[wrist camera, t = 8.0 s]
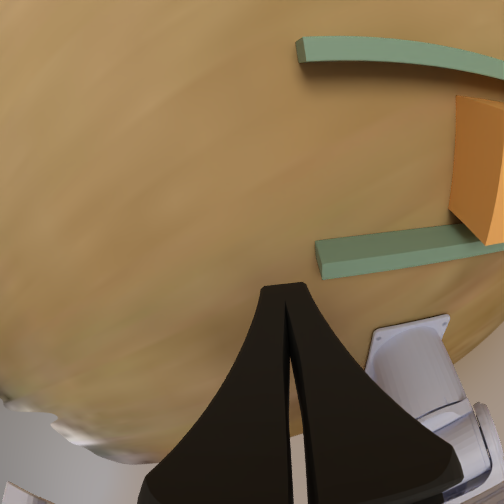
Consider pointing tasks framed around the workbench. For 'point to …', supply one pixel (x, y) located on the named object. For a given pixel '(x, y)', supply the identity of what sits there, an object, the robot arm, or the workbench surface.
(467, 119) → the orange square block
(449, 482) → the robot arm
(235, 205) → the workbench surface
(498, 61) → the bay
